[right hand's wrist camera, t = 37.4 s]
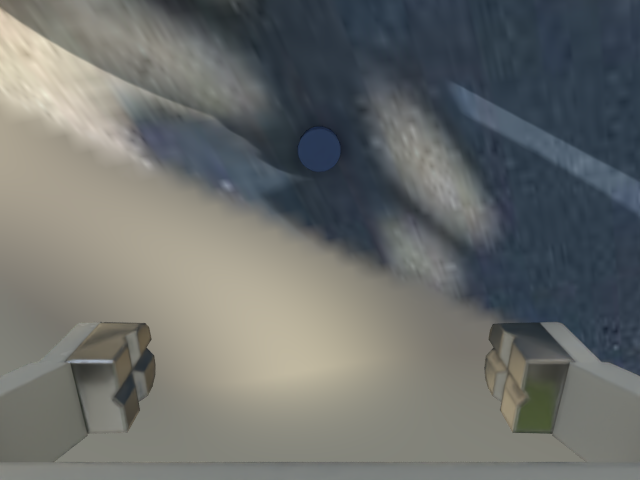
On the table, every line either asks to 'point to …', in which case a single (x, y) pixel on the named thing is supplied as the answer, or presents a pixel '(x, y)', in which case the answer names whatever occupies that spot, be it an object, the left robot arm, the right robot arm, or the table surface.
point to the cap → (319, 149)
